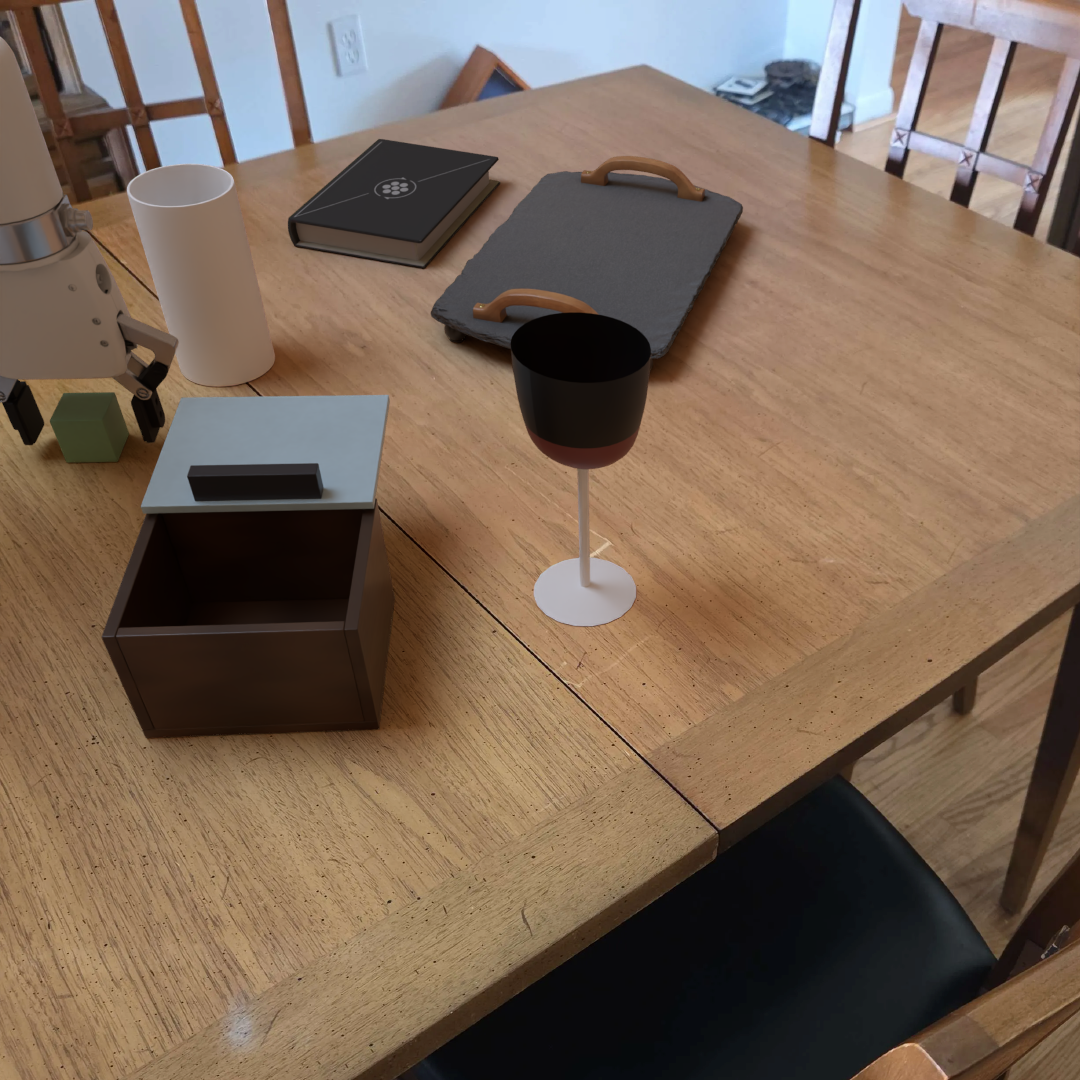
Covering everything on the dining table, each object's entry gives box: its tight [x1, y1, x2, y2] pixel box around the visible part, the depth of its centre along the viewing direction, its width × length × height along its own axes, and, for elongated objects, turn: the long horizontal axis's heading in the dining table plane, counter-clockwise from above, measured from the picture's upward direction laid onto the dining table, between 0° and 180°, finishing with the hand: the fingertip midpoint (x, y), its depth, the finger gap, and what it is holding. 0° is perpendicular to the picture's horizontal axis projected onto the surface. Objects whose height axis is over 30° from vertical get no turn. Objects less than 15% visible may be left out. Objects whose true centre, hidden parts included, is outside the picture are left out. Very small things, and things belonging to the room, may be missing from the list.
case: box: [101, 497, 396, 739], centre depth 75 cm, size 15×13×9 cm
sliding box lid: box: [140, 394, 391, 515], centre depth 78 cm, size 15×13×3 cm
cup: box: [126, 163, 276, 388], centre depth 98 cm, size 8×8×16 cm
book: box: [287, 138, 501, 269], centre depth 125 cm, size 22×15×3 cm
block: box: [49, 391, 130, 464], centre depth 93 cm, size 4×4×4 cm
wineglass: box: [510, 312, 651, 627], centre depth 78 cm, size 8×9×20 cm
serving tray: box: [430, 155, 744, 371], centre depth 115 cm, size 39×23×6 cm, turn 165°
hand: (94, 434), depth 93 cm, fingers open, 8 cm apart
